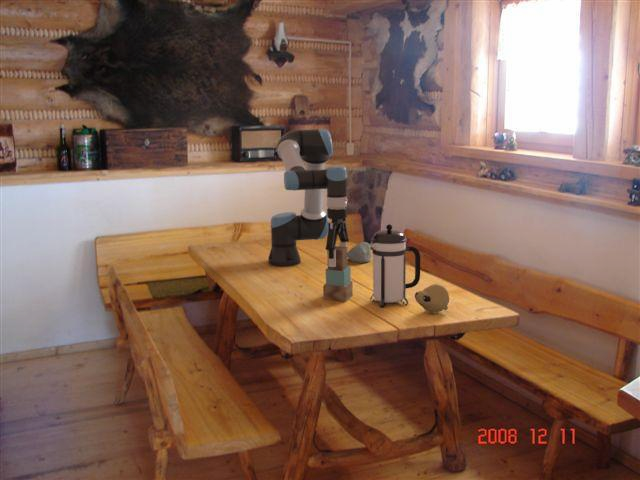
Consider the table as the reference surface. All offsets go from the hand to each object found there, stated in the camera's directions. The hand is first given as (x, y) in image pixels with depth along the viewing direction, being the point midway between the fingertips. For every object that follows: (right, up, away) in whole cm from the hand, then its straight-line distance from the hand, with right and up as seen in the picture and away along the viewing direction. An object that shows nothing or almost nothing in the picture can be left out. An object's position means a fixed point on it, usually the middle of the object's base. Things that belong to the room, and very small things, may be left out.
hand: (337, 262), depth 264 cm
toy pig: (+33, -18, -17) cm, 41 cm away
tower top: (0, -8, +2) cm, 8 cm away
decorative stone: (+12, -2, +61) cm, 62 cm away
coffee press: (+20, -15, -3) cm, 25 cm away
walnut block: (0, -2, +1) cm, 2 cm away
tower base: (0, -14, +3) cm, 14 cm away
